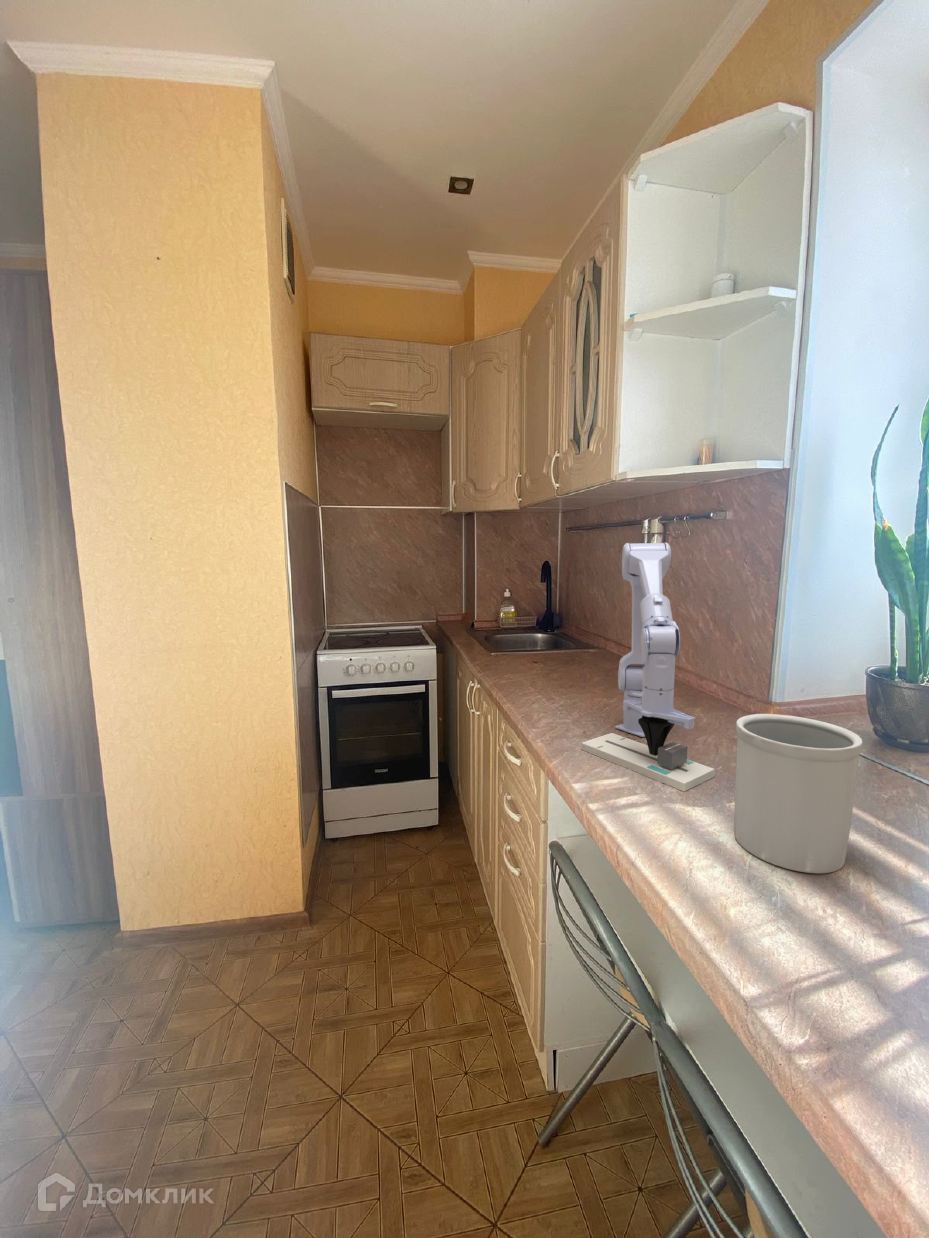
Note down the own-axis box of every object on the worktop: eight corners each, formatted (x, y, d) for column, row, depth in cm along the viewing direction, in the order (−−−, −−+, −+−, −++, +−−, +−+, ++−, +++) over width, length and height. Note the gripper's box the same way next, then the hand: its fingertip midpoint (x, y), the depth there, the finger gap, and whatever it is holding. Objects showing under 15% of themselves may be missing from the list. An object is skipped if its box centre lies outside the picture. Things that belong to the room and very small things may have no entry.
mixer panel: (611, 739, 115) (611, 732, 115) (714, 776, 96) (714, 768, 96) (581, 749, 110) (581, 742, 109) (684, 791, 90) (684, 783, 90)
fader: (672, 757, 100) (673, 741, 100) (686, 762, 98) (687, 746, 97) (657, 763, 97) (658, 747, 97) (671, 769, 95) (672, 752, 94)
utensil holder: (740, 808, 84) (747, 706, 82) (853, 839, 75) (864, 725, 73) (718, 849, 73) (725, 732, 71) (847, 892, 64) (860, 759, 61)
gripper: (614, 682, 102) (612, 746, 104) (680, 699, 90) (677, 771, 92) (636, 676, 106) (633, 739, 108) (702, 692, 94) (698, 761, 96)
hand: (655, 753), depth 100 cm, fingers closed
